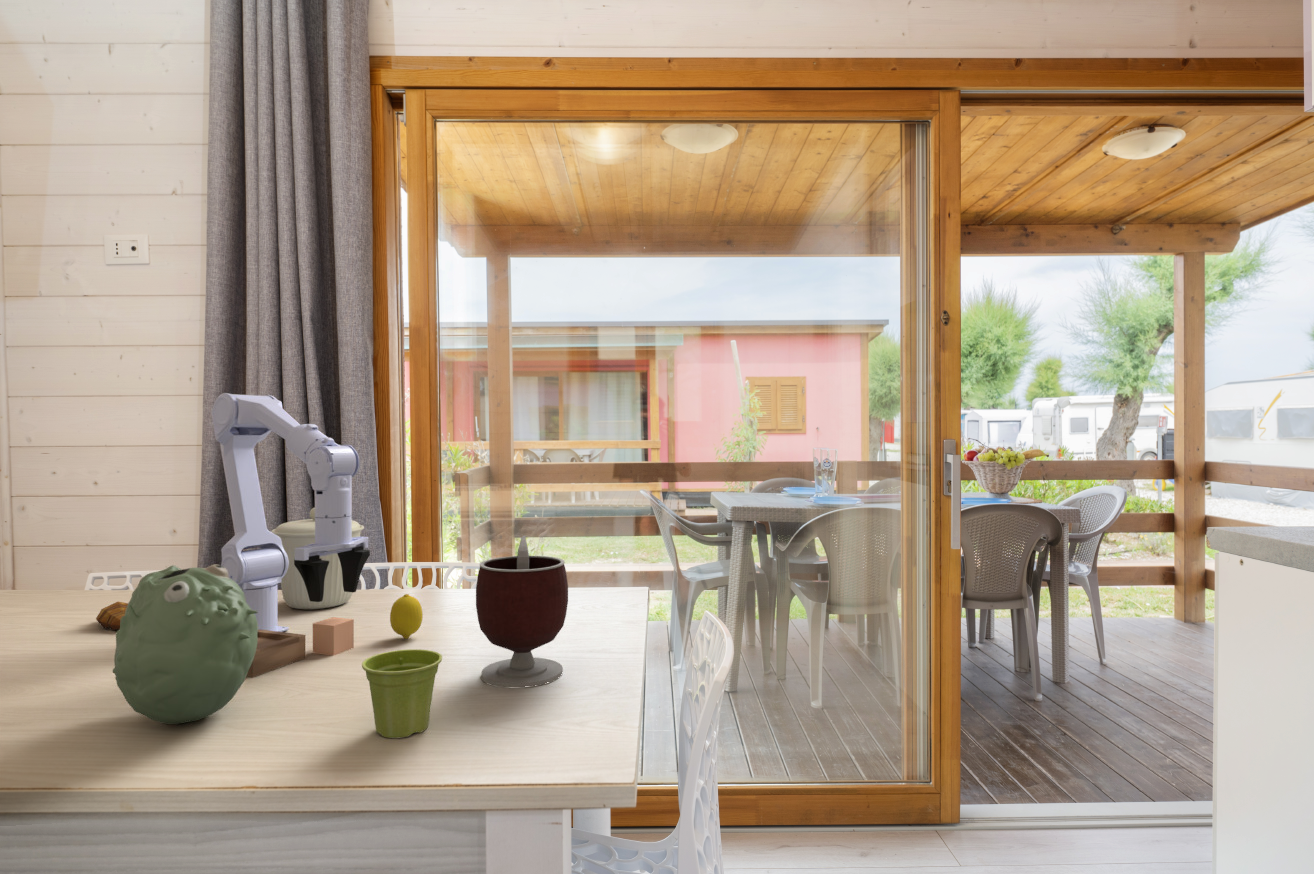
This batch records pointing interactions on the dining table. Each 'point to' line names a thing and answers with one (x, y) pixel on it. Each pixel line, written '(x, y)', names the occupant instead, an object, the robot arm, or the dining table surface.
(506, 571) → the mate gourd
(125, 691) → the green pufferfish toy
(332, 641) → the block
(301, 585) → the canister
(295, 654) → the walnut base
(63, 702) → the dining table surface
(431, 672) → the plant pot
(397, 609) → the lemon
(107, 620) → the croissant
